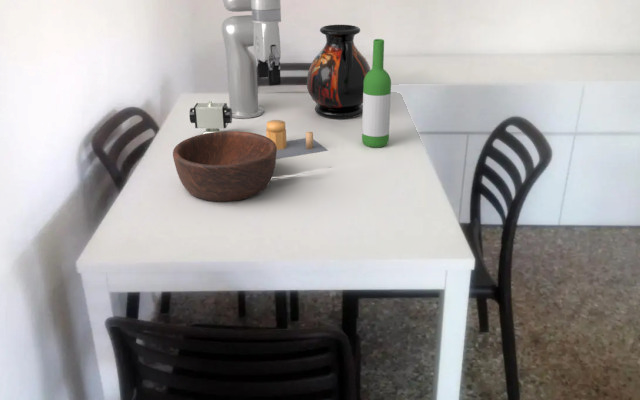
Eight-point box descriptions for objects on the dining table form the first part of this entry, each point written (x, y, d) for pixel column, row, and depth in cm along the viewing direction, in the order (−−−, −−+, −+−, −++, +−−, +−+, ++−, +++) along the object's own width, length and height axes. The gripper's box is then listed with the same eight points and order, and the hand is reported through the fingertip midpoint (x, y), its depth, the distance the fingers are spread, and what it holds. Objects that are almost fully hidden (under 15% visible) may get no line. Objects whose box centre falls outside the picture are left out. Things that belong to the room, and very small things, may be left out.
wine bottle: (373, 150, 182) (377, 43, 169) (356, 143, 187) (358, 39, 175) (394, 144, 186) (399, 40, 173) (376, 137, 192) (380, 36, 179)
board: (253, 150, 182) (252, 131, 180) (311, 141, 189) (310, 122, 186) (267, 164, 172) (267, 144, 170) (328, 154, 179) (328, 135, 177)
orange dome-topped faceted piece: (264, 145, 183) (263, 121, 180) (281, 142, 185) (281, 119, 182) (271, 150, 178) (270, 126, 175) (288, 148, 180) (287, 124, 177)
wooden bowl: (180, 213, 146) (176, 171, 141) (173, 172, 168) (169, 135, 163) (287, 200, 152) (286, 160, 147) (267, 163, 174) (265, 126, 169)
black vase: (299, 106, 221) (298, 23, 209) (358, 101, 227) (359, 20, 215) (318, 125, 202) (317, 35, 191) (381, 119, 208) (384, 31, 196)
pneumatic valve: (231, 143, 187) (229, 103, 182) (191, 143, 187) (188, 103, 182) (234, 137, 192) (231, 98, 187) (195, 137, 192) (192, 98, 187)
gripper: (243, 12, 173) (247, 75, 179) (261, 21, 158) (265, 89, 165) (270, 11, 175) (272, 73, 182) (290, 19, 160) (292, 86, 167)
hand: (269, 80), depth 173 cm, fingers open, 9 cm apart
